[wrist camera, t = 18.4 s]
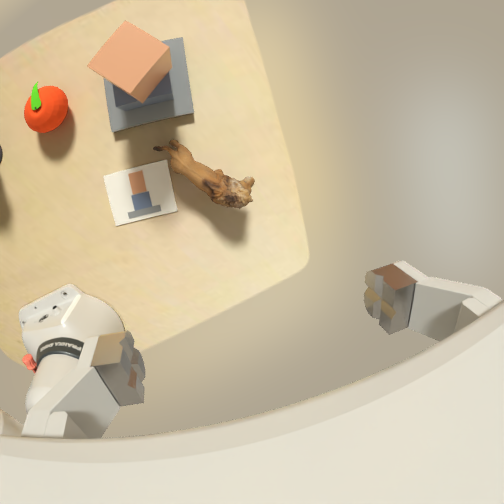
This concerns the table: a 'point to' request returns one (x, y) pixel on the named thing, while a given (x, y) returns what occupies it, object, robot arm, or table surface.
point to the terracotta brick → (133, 61)
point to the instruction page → (140, 192)
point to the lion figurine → (210, 178)
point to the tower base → (158, 108)
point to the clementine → (45, 108)
